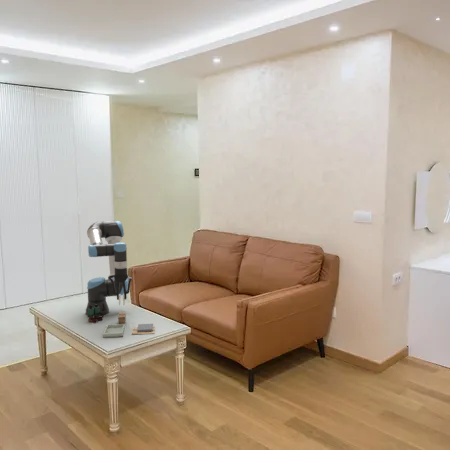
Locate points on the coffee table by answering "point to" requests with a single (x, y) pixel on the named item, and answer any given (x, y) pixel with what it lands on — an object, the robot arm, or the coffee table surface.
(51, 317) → the coffee table surface
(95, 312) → the binoculars
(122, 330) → the tray
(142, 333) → the cork mat
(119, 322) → the block
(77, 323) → the coffee table surface
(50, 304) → the coffee table surface
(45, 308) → the coffee table surface
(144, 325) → the grey square tile
